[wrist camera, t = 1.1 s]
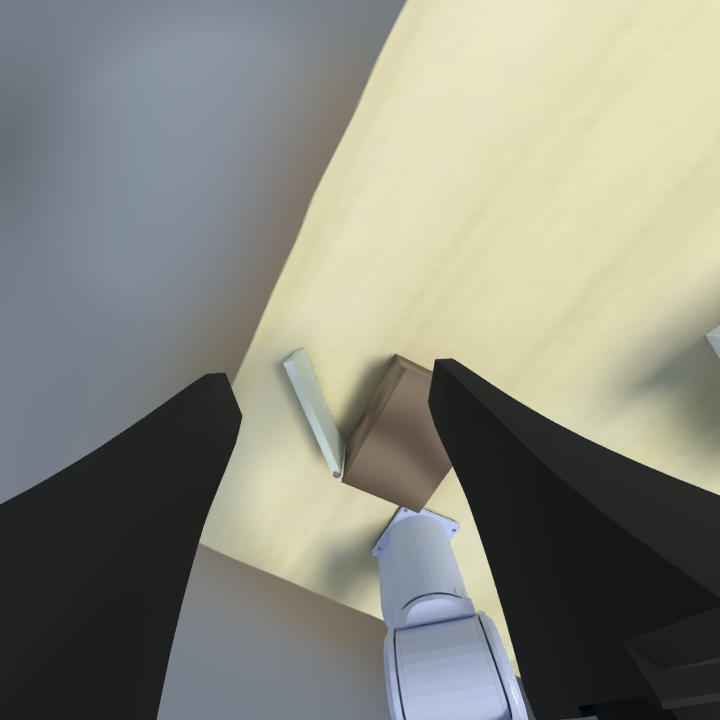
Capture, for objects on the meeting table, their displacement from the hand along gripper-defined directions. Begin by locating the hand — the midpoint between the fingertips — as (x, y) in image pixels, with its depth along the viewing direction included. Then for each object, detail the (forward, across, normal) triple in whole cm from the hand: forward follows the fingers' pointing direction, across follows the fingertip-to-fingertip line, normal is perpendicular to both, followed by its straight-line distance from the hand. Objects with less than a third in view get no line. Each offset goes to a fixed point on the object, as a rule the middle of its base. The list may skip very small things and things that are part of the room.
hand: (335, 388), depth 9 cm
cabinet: (+13, -6, +15) cm, 21 cm away
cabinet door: (+14, +2, +13) cm, 19 cm away
